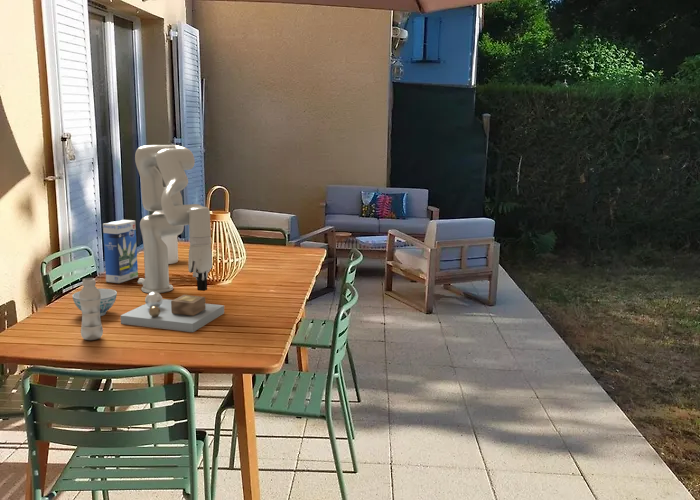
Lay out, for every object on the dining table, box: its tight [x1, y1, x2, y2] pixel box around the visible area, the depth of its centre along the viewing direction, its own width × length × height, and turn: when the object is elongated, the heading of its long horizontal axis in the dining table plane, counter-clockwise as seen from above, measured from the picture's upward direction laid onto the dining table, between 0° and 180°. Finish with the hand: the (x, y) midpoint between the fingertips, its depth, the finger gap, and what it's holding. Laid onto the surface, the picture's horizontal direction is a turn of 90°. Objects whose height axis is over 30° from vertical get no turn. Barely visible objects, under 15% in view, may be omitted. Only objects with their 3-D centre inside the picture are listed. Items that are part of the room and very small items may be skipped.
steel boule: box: [144, 292, 164, 308], centre depth 232 cm, size 6×6×6 cm
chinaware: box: [71, 288, 118, 317], centre depth 233 cm, size 15×15×8 cm
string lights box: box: [102, 219, 139, 284], centre depth 282 cm, size 13×8×26 cm, turn 161°
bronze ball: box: [149, 306, 160, 317], centre depth 222 cm, size 4×4×4 cm
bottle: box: [151, 211, 179, 265], centre depth 317 cm, size 14×14×28 cm
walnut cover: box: [171, 294, 206, 316], centre depth 228 cm, size 9×9×5 cm
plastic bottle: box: [79, 277, 104, 341], centre depth 206 cm, size 6×7×20 cm
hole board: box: [120, 298, 225, 333], centre depth 231 cm, size 28×23×3 cm
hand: (202, 289), depth 236 cm, fingers closed
